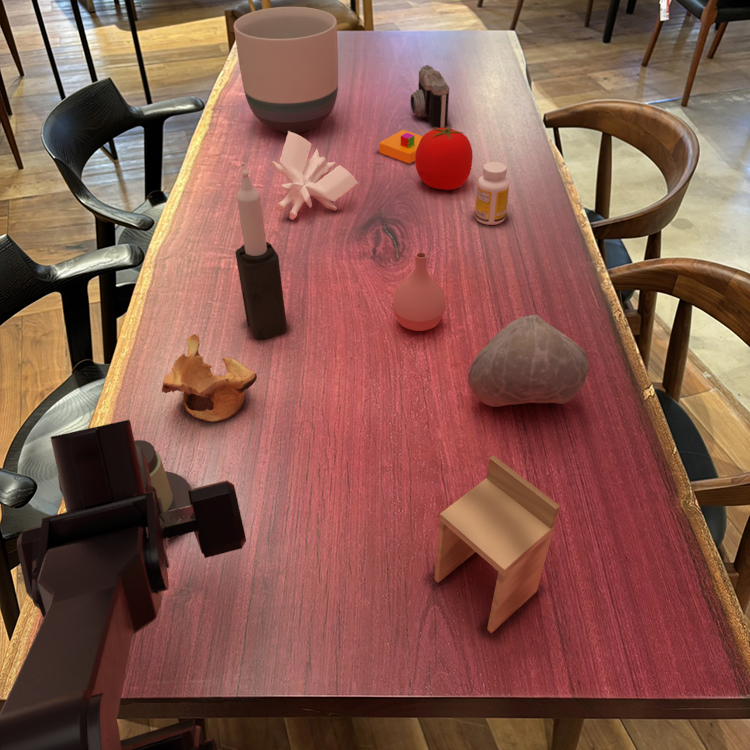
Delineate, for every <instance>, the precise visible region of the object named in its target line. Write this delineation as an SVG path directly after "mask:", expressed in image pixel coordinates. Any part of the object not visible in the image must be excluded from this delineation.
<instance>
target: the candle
mask: <svg viewBox="0 0 750 750" xmlns="http://www.w3.org/2000/svg"><path fill="white" fill-rule="evenodd" d="M249 175H250V173H249V171H248V170H247V169H244V170H242V171H241V176H242V179H241V185H240V189H239V190H238V192H237V195H236V200H237V207H238V214H239V220H240V227H241V232H242V233H241V234H242V240H243V244H242V245H241V246H240V247H238V248H237V249H236V250H235V259H236V264H237V265H236V266H237V272H238V276H239V277H238V278H239V282H240V283H239V284H240V289H241V295H242V300H243V307H244V314H245V318H246V324H247V327H249V328H250V331H251V332H252V336H253V338H254V339H255V340H258V341H263V340H267V339H270V338H273V337H277V336H281V335H283V334H285V333H286V332H287V330H288V328H287V327H288V326H287V317H286V316H287V315H286V309H285V300H284V292H283V282H282V274H281V266H280V258H279V254H278V253H277V252H276V250H275V248H274V247H273V245H272V244H271V243H270V242H268V241H267V238H266V231H265V230H266V229H265V224H264V216H263V207H262V200H261V199H262V198H261V194H260V192H259V190H257V189H256V188H255V186H254V185H253V183H252V181H251V179H250V177H249Z"/></svg>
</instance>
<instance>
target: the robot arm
mask: <svg viewBox="0 0 750 750" xmlns="http://www.w3.org/2000/svg"><path fill="white" fill-rule="evenodd" d="M50 443H51V446H52V451H53V452H52V453H53V456H54V460H55V464H56V469H57V474H58V475H57V477H58V485H59V490H60V492H61V495H62V497H63V503H64V506H65V510H66V511H65V512H61V513H57V514H53V515H48V516H45V517H41V525H37V526H32V527H28V528H26V529H24V530H23V531H21V532H20V534H19V535H18V537H17V538H16V539H17V540H16V550H17V556H18V560H19V565H20V569H21V574H22V578H23V583H24V587H25V588H24V589H25V592H26V594H27V596H28V597H29V598H30V599H31V600H32V603H33V605H34V607H35V608H36V609H39V611H40V613H41V616H42V618H43V619H42V621H41V622H40V623H41V624H40V626H39V628H38V630H37V632H36V635H35V636H34V639H33V641H32V643H31V645H30V648H29V650H28V652H27V654H26V656H25V659H24V660H23V663H22V665H21V667H20V669H19V671H18V674H17V676H16V678H15V680H14V682H13V684H12V686H11V689H10V691H9V693H8V696H7V697H6V700H5V702H4V703H3V706H2V707H1V708H2V709H1V710H0V750H218V746H217V744H216V740H215V739H214V737H211V738H207V739H205V740H204V730H203V728H202V727H201V726H200V725H196V720H195V718H194V717H192V718H189V719H186V720H182V721H179V722H176V723H172V724H169V725H166V726H163V727H160V728H159V727H158V728H156V729H153V730H150V731H147V732H144V733H140V734H137V735H134V736H130V737H128V738H124V739H121V736H120V735H121V733H120V727H119V722H118V717H119V712H120V711H119V710H120V705H121V700H122V694H123V689H124V683H125V679H126V671H127V668H128V667H127V666H128V662H129V655H130V651H131V646H132V639H133V636H134V635H135V634H137V633H139V632H140V631H141V630H143V629H144V628H146V627H147V626H149V625H150V624H152V623H153V622H155V620H156V619H157V617H158V615H159V613H160V612H159V611H160V609H161V606H162V592H165V591H168V590H169V587H170V584H169V583H170V582H169V574H168V573H169V572H168V569H169V567H170V561H169V558H168V553H167V550H168V546H169V542H170V540H169V538H171V537H175V536H176V537H178V536H182V535H186V534H191V533H193V534H194V537H195V539H196V541H197V544H198V547H199V549H200V550H199V551H200V552H201V554H202V555H203V557H204V559H207V558H211V557H215V556H219V555H222V554H226V553H230V552H234V551H237V550H242V549H243V547H244V545H245V544H246V543H247V536H246V532H245V527H244V524H243V523H244V522H243V519H242V518H243V517H242V514H241V509H240V505H239V501H238V496H237V492H236V487H235V484H234V483H232V482H230V481H229V480H223V481H219V482H214V483H210V484H206V485H202V486H198V487H195V488H191V490H188V494H189V501H190V506H186V507H182V508H178V509H174V510H170V511H166V512H163V507H162V502H161V498H157V493H156V489H155V488H154V487H152V485H151V479H150V473H149V468H148V461H147V458H146V456H145V455H144V453H143V451H142V450H141V448H140V446H139V445H138V444H136V443H135V437H134V433H133V428H132V424H131V419H126V420H125V419H124V420H120V421H117V422H112V423H111V422H110V423H107V424H102V425H98V426H94V427H93V426H92V427H88V428H85V429H80V430H79V429H78V430H76V431H71V432H66V433H62V434H56V435H53V436H50ZM188 514H189V516H190V520H186V521H182V522H178V523H174V524H170V525H165V521H166V520H167V522H168V523H169V522H170V519H171V520H172V521H174V518H176V520H179V517H180V518H181V519H183V516H185V518H187V516H188ZM176 537H175V538H176Z"/></svg>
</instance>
